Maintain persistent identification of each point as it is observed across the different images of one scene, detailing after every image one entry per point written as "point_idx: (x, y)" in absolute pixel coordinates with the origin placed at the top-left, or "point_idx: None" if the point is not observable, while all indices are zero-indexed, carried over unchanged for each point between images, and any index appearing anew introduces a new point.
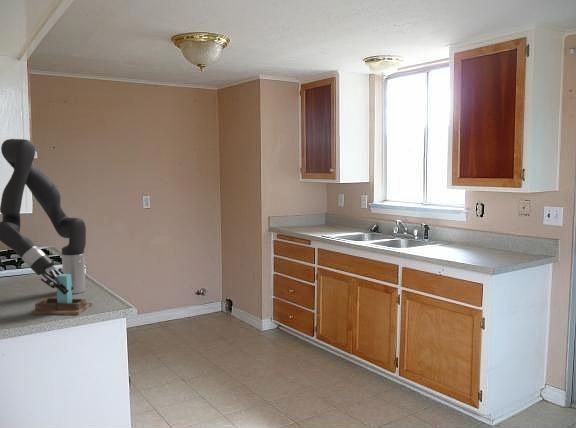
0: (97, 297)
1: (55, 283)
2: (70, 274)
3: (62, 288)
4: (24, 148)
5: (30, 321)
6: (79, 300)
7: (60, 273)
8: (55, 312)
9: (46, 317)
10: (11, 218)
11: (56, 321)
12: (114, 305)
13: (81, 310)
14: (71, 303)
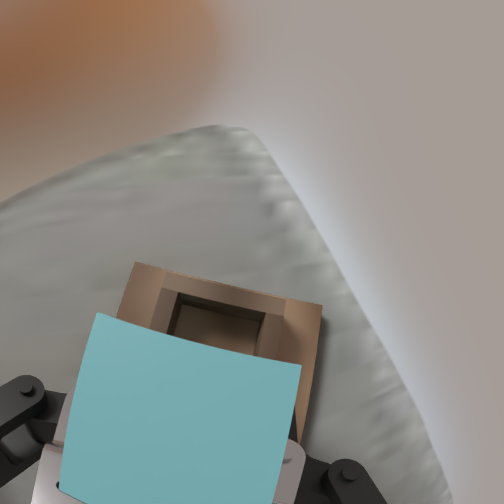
0: (4, 260)
1: (366, 479)
2: (125, 322)
3: (295, 414)
4: None
5: None
6: (173, 314)
7: (55, 500)
8: (302, 433)
9: (331, 461)
10: None
11: (398, 385)
12: (164, 173)
13: (277, 297)
14: (274, 347)
